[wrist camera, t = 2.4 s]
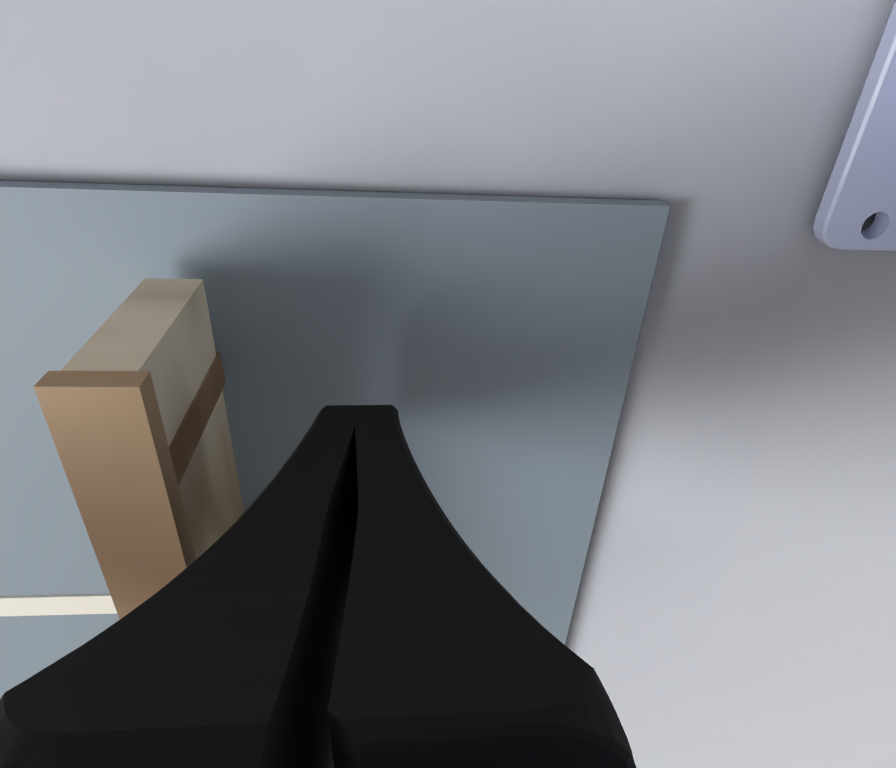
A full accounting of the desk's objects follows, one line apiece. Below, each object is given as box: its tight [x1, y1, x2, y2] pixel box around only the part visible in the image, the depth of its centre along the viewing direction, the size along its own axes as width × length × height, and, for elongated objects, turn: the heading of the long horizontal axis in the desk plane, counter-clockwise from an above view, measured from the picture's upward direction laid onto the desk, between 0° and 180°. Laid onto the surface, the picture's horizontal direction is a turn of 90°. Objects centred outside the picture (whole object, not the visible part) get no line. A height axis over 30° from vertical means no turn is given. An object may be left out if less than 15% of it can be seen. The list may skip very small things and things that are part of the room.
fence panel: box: [33, 278, 244, 619], centre depth 11 cm, size 8×1×4 cm, turn 177°
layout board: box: [0, 181, 670, 699], centre depth 16 cm, size 20×20×1 cm
